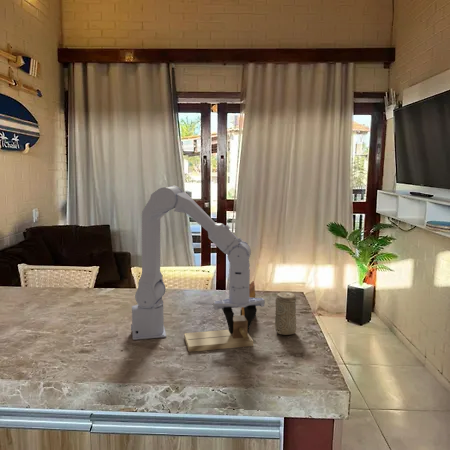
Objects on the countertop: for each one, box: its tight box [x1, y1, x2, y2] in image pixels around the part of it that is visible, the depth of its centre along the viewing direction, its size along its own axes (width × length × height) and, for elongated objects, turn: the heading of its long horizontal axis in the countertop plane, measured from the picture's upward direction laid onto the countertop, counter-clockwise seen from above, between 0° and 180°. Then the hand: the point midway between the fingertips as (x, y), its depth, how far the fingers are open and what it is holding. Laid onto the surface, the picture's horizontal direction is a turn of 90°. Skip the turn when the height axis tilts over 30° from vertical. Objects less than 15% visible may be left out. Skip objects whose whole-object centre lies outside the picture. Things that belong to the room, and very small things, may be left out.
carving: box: [274, 291, 297, 336], centre depth 125 cm, size 6×8×12 cm
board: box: [183, 329, 254, 353], centre depth 119 cm, size 18×9×2 cm, turn 103°
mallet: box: [231, 315, 248, 339], centre depth 118 cm, size 4×9×5 cm, turn 13°
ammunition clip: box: [239, 281, 257, 319], centre depth 135 cm, size 11×2×12 cm, turn 159°
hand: (238, 331), depth 121 cm, fingers closed on mallet, 4 cm apart
